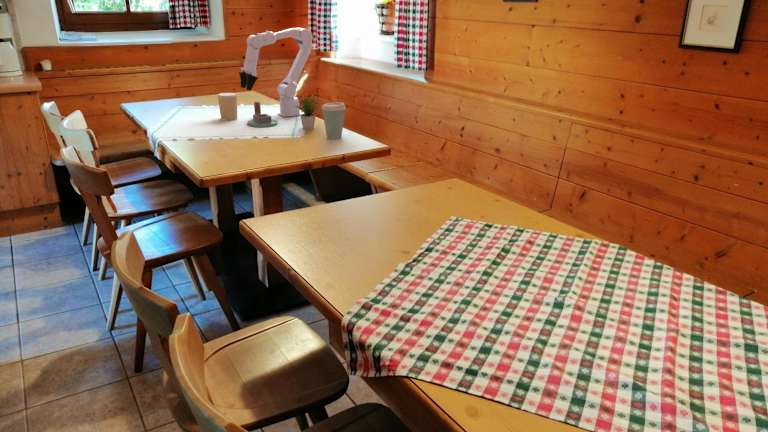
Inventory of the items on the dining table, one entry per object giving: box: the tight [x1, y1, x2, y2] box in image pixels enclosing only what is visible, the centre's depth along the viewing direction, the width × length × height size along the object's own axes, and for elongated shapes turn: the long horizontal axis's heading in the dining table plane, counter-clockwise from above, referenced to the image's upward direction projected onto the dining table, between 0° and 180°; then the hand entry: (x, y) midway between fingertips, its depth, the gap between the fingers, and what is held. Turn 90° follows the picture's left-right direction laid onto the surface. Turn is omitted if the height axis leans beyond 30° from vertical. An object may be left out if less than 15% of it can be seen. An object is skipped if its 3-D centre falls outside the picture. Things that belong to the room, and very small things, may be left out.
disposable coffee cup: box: [321, 101, 347, 140], centre depth 247 cm, size 11×11×15 cm
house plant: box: [295, 94, 323, 131], centre depth 260 cm, size 14×14×16 cm
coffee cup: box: [217, 92, 238, 121], centre depth 276 cm, size 9×9×12 cm
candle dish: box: [247, 113, 278, 128], centre depth 269 cm, size 14×14×4 cm
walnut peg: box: [253, 101, 262, 115], centre depth 280 cm, size 3×3×8 cm
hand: (245, 88), depth 273 cm, fingers open, 7 cm apart
